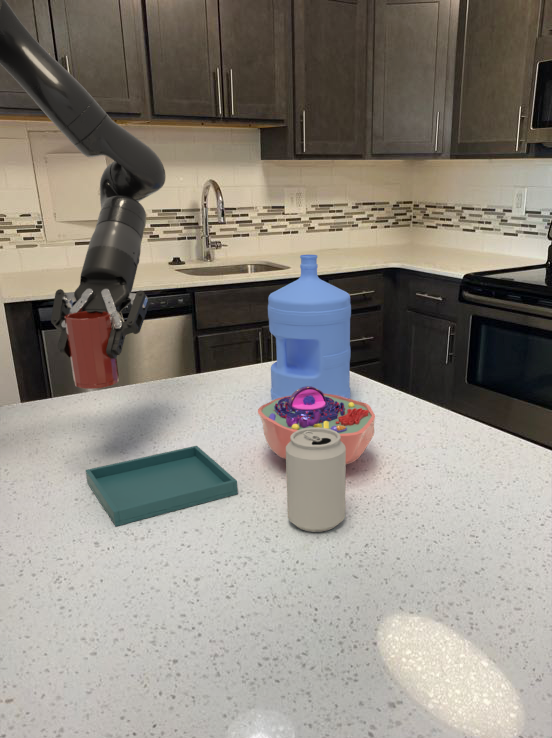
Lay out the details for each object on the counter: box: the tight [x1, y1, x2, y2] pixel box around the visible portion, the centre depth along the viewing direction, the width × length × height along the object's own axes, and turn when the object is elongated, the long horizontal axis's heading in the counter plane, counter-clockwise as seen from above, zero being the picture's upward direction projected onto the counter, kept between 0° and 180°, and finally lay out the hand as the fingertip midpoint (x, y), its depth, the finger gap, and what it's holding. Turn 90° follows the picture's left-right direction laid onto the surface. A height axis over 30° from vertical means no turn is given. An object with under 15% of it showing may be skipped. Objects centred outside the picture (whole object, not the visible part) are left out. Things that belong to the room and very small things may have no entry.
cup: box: [64, 311, 120, 390], centre depth 96 cm, size 6×6×10 cm
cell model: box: [257, 386, 376, 466], centre depth 102 cm, size 17×20×11 cm
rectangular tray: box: [84, 445, 239, 527], centre depth 95 cm, size 17×15×2 cm
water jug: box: [267, 254, 352, 401], centre depth 126 cm, size 16×16×28 cm
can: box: [285, 427, 347, 533], centre depth 84 cm, size 8×8×12 cm
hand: (88, 355), depth 94 cm, fingers closed on cup, 6 cm apart
